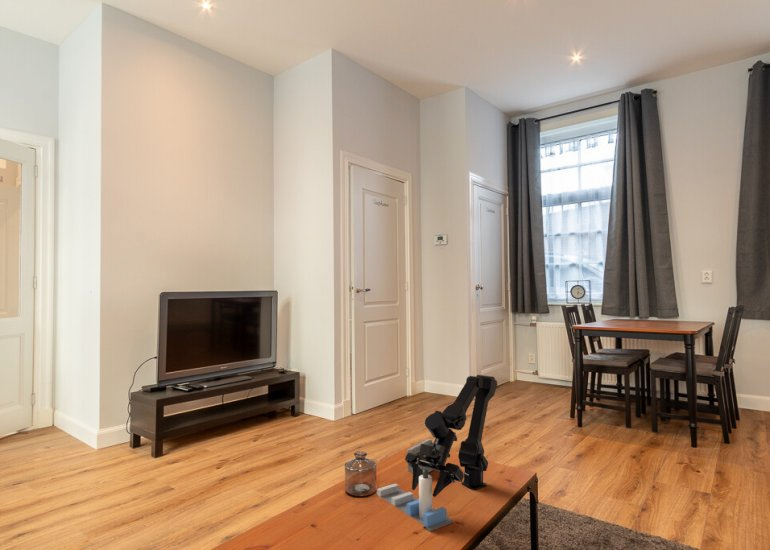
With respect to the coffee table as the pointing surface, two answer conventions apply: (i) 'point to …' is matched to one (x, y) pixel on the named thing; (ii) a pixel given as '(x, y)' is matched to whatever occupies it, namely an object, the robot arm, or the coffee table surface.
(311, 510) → the coffee table surface
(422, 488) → the bottle
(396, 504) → the slotted divider tray
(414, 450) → the digital clock
